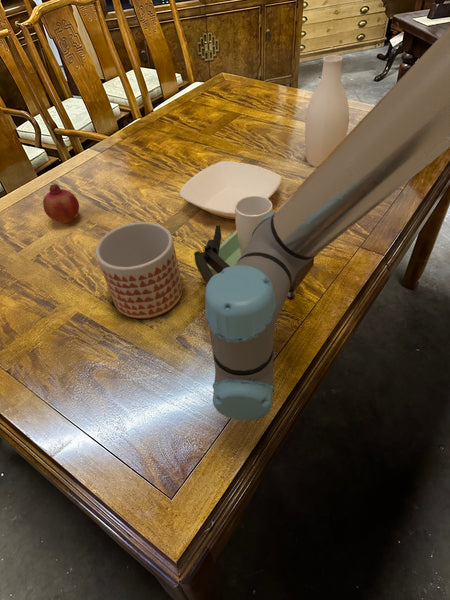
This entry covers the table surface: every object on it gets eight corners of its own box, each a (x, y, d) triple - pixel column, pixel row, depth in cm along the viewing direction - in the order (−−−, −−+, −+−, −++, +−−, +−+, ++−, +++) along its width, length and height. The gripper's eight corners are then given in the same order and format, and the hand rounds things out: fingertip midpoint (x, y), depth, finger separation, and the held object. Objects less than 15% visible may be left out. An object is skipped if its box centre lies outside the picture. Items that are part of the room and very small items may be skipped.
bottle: (294, 160, 117) (298, 59, 99) (322, 147, 121) (331, 48, 103) (323, 174, 110) (334, 69, 92) (352, 160, 114) (367, 56, 96)
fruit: (54, 213, 107) (39, 178, 100) (85, 210, 107) (72, 174, 100) (47, 232, 101) (31, 196, 94) (81, 228, 101) (66, 192, 94)
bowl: (222, 174, 114) (220, 155, 111) (292, 193, 105) (292, 174, 101) (171, 213, 103) (167, 194, 99) (244, 239, 93) (243, 220, 89)
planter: (190, 309, 79) (179, 257, 70) (118, 328, 77) (98, 277, 68) (175, 265, 89) (164, 214, 80) (111, 281, 87) (92, 230, 78)
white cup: (279, 271, 83) (280, 206, 73) (252, 285, 81) (249, 221, 70) (258, 254, 87) (257, 190, 77) (232, 268, 85) (226, 204, 74)
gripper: (170, 331, 66) (191, 247, 81) (332, 335, 63) (323, 247, 78) (162, 298, 61) (185, 214, 75) (338, 300, 57) (327, 213, 72)
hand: (255, 231), depth 76 cm, fingers open, 13 cm apart
